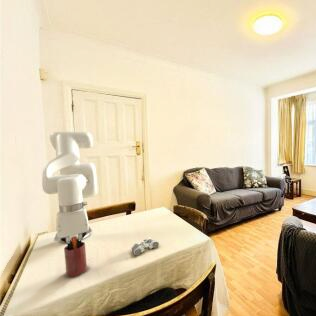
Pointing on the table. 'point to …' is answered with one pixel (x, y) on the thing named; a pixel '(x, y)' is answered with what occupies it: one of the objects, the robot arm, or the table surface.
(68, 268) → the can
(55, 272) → the table surface
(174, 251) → the table surface
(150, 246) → the binoculars
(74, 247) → the solid orange cylinder
